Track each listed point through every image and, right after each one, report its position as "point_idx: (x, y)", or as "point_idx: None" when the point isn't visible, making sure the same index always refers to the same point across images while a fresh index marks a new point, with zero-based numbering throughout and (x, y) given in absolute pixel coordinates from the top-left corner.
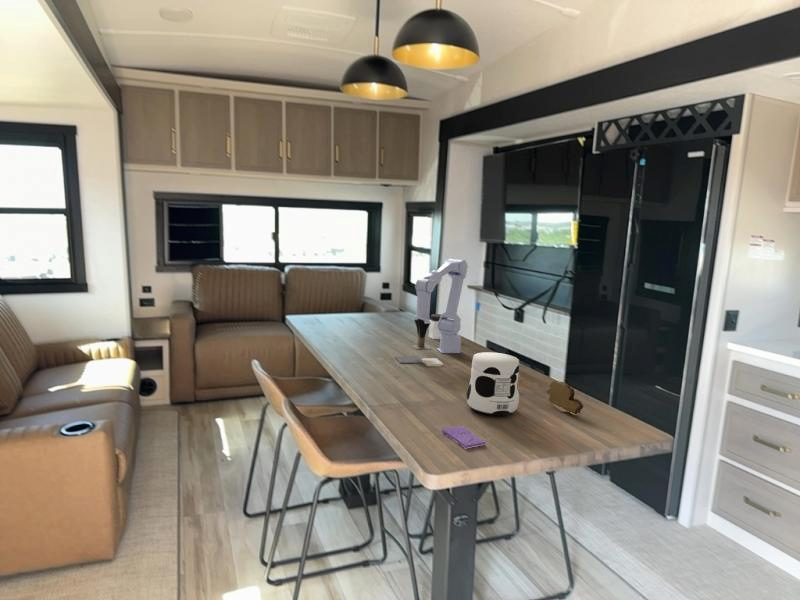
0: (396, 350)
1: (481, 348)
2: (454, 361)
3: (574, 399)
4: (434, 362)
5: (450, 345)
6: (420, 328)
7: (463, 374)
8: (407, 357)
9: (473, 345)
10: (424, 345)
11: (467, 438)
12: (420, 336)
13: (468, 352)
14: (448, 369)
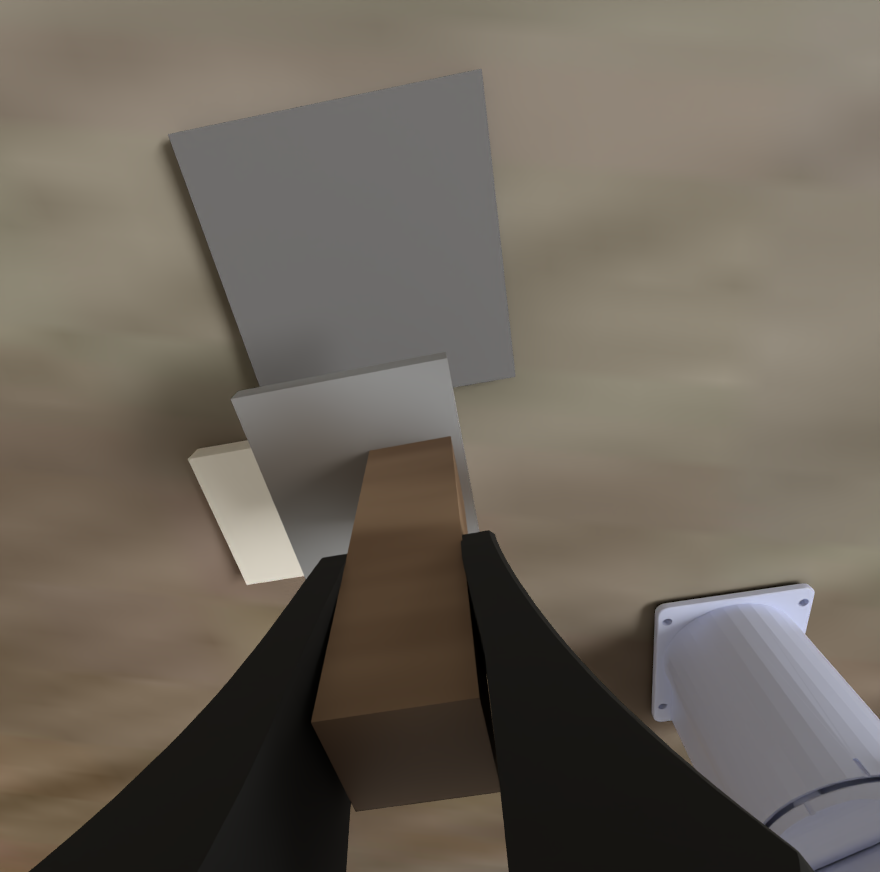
0: (855, 132)
1: None
2: None
3: None
4: (268, 525)
5: (692, 719)
6: (175, 761)
7: (65, 670)
8: (437, 262)
9: None
10: (467, 526)
11: None
12: (311, 575)
13: (677, 752)
14: (158, 597)
